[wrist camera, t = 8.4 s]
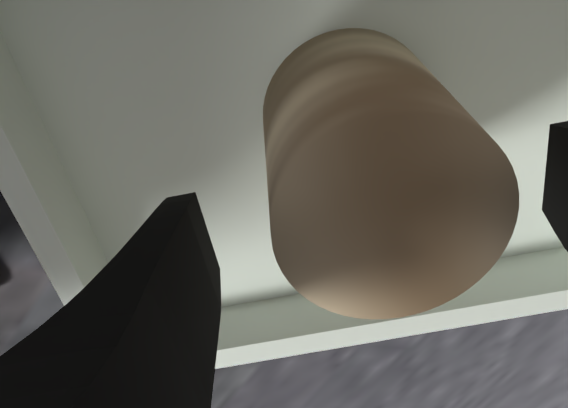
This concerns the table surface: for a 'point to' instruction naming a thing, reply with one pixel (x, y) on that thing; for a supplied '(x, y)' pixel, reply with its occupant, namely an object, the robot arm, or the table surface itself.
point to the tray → (255, 142)
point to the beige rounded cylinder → (379, 180)
